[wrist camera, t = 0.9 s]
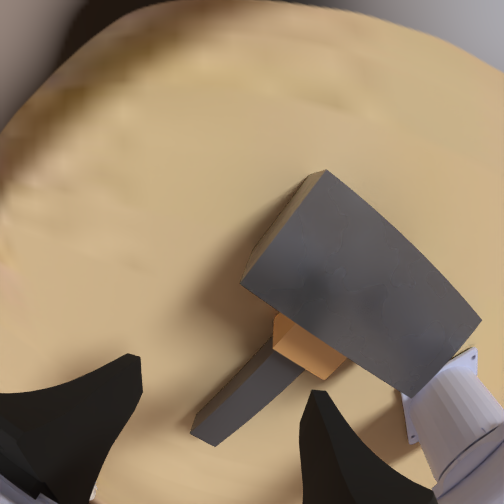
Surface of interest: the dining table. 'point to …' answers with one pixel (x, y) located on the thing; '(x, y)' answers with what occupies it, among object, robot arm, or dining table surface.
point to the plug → (265, 379)
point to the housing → (359, 285)
